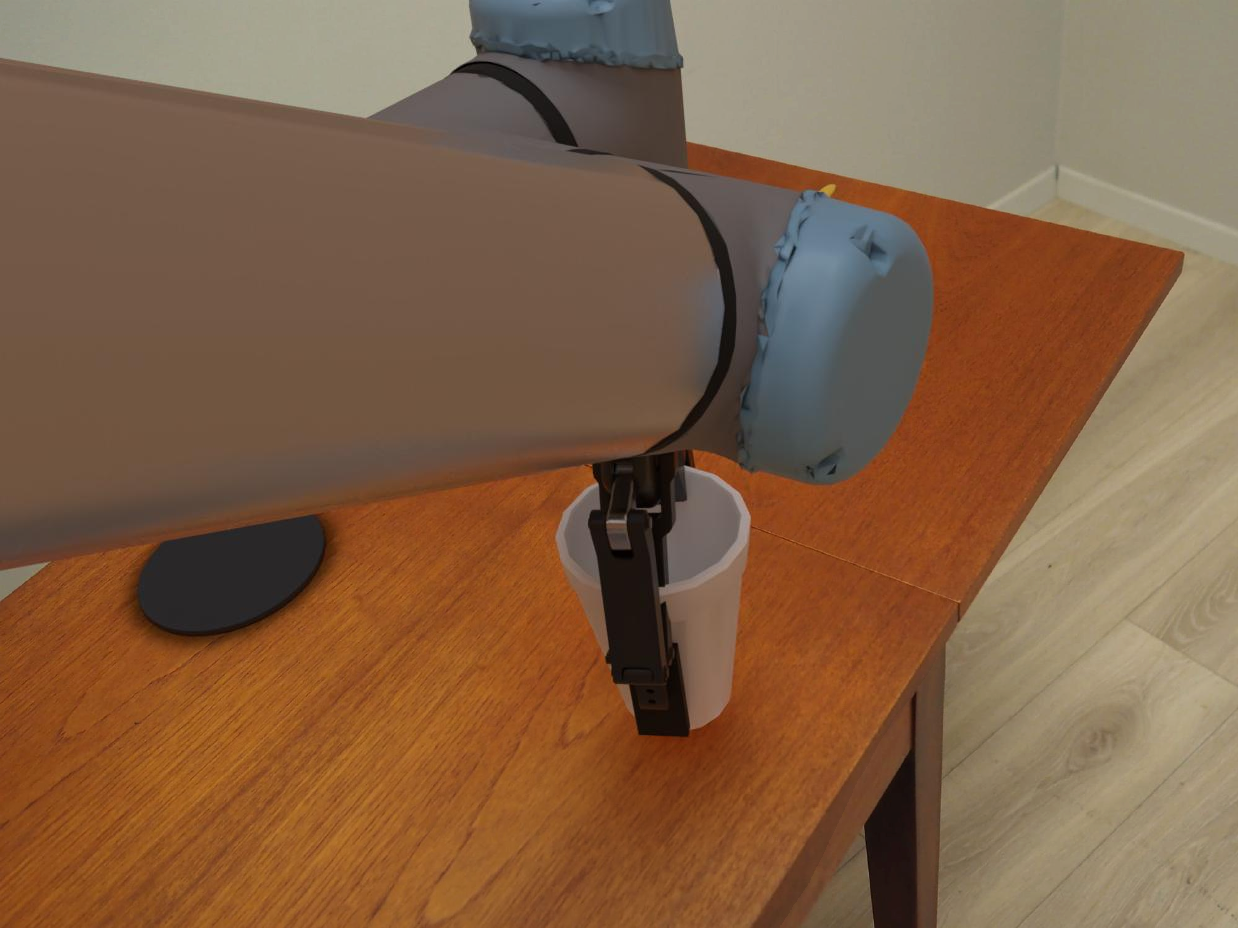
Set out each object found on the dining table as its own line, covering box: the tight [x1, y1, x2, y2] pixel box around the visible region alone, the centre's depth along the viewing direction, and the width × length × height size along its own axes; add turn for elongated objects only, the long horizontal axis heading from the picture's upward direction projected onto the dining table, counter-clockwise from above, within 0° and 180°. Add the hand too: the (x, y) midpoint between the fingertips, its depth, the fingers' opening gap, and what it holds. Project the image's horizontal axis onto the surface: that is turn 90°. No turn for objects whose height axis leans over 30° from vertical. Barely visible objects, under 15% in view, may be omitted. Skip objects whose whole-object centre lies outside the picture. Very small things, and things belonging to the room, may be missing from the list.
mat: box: [136, 514, 326, 636], centre depth 88 cm, size 14×14×1 cm
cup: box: [554, 465, 752, 731], centre depth 63 cm, size 10×10×13 cm
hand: (674, 666), depth 66 cm, fingers closed on cup, 8 cm apart
